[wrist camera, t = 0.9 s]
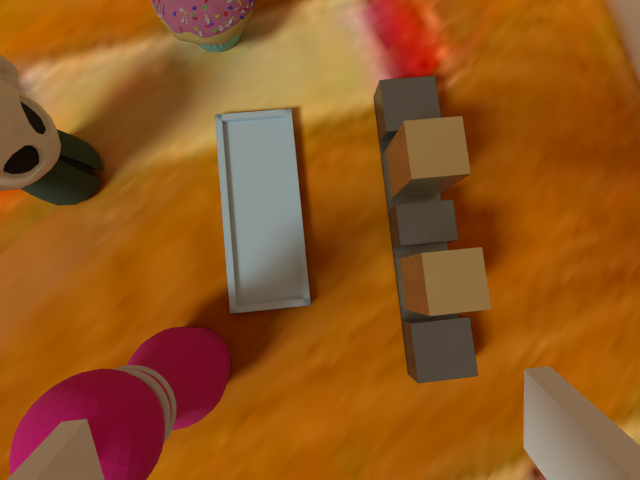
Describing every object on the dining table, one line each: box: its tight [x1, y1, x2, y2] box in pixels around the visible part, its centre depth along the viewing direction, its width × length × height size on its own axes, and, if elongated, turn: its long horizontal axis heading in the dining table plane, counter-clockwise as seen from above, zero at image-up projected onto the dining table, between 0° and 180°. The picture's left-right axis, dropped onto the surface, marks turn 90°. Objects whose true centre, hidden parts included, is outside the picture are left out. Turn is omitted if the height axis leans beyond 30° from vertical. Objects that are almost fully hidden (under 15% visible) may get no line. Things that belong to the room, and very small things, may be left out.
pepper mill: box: [9, 327, 231, 480], centre depth 23 cm, size 7×7×20 cm
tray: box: [215, 109, 311, 314], centre depth 34 cm, size 18×7×1 cm, turn 6°
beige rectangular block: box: [384, 116, 471, 200], centre depth 31 cm, size 4×4×7 cm
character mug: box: [0, 55, 103, 205], centre depth 28 cm, size 11×7×13 cm, turn 173°
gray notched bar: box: [374, 76, 478, 383], centre depth 33 cm, size 26×5×3 cm, turn 6°
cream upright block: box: [398, 247, 491, 316], centre depth 30 cm, size 4×4×7 cm
